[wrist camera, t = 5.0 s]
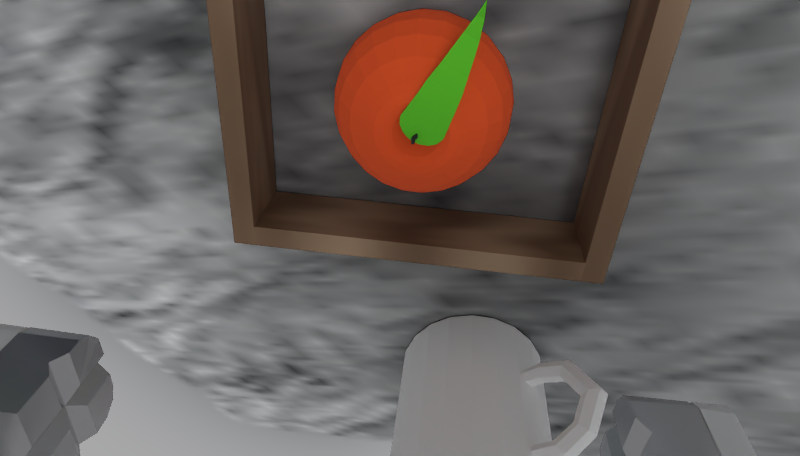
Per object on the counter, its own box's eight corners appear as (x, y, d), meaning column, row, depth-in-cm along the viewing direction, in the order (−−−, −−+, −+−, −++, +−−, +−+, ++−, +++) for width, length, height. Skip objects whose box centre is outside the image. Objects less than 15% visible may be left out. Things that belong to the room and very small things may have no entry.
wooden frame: (696, -139, 20) (735, -143, 17) (589, 241, 28) (602, 283, 25) (226, -168, 21) (185, -177, 18) (258, 206, 29) (234, 242, 26)
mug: (626, 335, 31) (683, 501, 23) (470, 430, 36) (470, 591, 28) (527, 248, 29) (550, 396, 20) (377, 362, 34) (346, 516, 26)
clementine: (407, -66, 22) (383, -48, 16) (556, 23, 23) (586, 72, 17) (327, 105, 26) (283, 172, 20) (457, 174, 27) (452, 257, 21)
